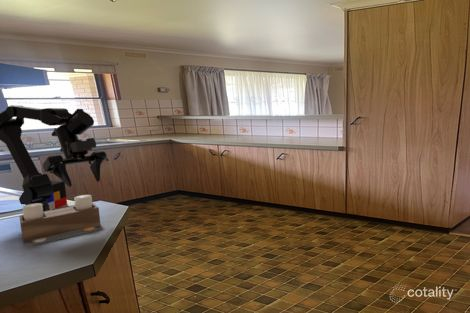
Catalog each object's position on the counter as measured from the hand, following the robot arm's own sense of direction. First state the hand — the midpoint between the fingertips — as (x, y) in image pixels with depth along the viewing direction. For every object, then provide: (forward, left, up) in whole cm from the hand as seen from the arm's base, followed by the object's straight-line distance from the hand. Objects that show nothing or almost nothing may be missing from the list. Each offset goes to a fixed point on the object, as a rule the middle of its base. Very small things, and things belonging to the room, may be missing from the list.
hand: (85, 183), depth 101 cm
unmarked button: (-13, -8, -11) cm, 18 cm away
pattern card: (-3, -9, -14) cm, 17 cm away
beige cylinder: (-2, +1, -11) cm, 11 cm away
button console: (-7, -3, -14) cm, 16 cm away
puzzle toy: (-31, +24, -14) cm, 42 cm away
